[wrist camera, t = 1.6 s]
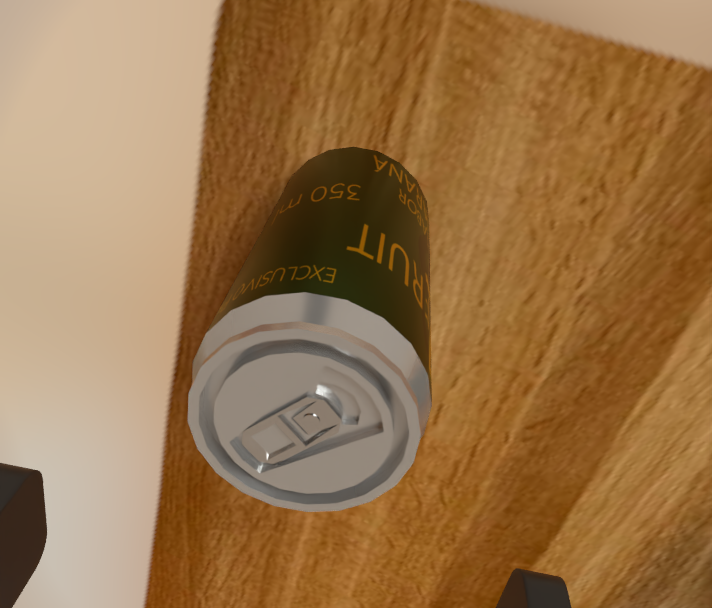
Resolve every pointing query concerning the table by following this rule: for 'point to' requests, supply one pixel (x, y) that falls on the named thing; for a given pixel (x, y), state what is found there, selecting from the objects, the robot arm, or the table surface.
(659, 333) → the table surface
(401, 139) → the table surface
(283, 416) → the beer can
